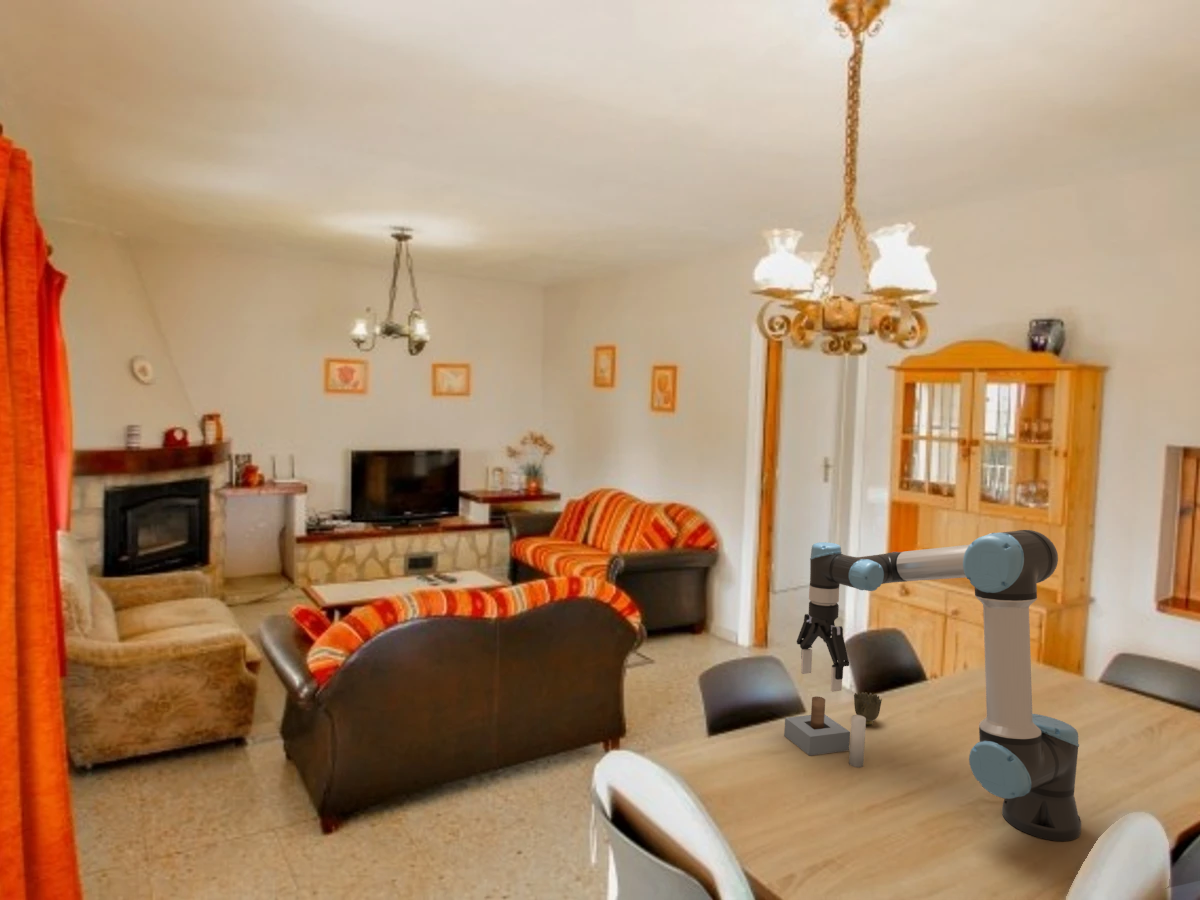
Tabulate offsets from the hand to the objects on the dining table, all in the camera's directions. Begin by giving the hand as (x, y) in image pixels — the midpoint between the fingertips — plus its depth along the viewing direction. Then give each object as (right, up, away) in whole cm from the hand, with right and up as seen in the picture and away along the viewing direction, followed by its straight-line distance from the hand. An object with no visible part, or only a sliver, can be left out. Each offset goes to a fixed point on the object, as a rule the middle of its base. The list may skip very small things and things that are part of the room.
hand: (820, 681), depth 209 cm
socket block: (-1, -17, +2) cm, 17 cm away
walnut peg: (-1, -17, +2) cm, 17 cm away
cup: (+17, -17, +15) cm, 28 cm away
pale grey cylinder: (+6, -18, -10) cm, 21 cm away
